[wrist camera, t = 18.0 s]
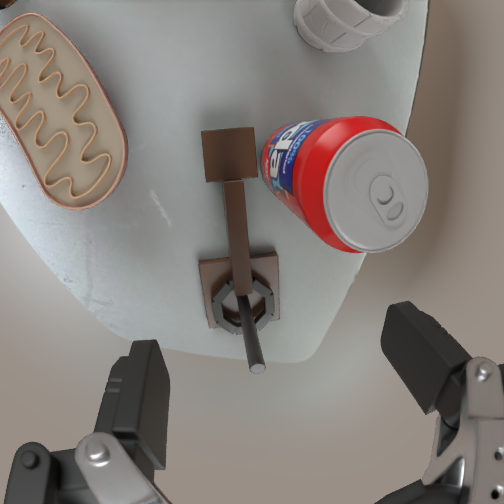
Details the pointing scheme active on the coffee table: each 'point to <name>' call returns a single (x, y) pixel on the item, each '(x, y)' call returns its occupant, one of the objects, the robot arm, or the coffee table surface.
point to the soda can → (348, 180)
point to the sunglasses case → (5, 3)
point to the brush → (235, 217)
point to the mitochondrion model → (59, 114)
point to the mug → (345, 21)
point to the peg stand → (242, 299)
